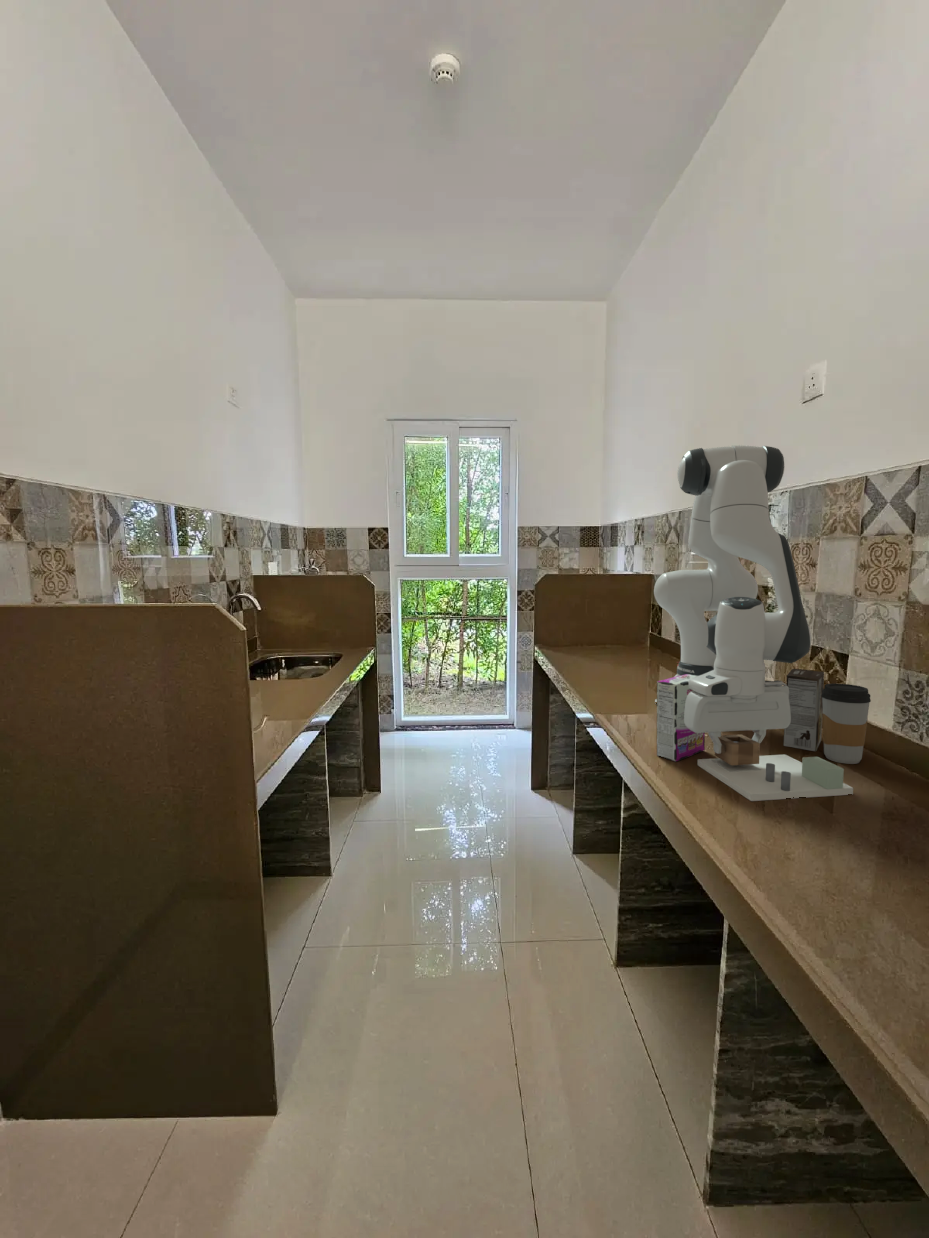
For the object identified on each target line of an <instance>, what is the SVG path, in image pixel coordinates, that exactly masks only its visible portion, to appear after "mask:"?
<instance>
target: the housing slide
mask: <svg viewBox="0 0 929 1238" xmlns="http://www.w3.org/2000/svg"><path fill="white" fill-rule="evenodd" d="M801 761H802V776H803V777H804V778H806V779H808V780H810V781H812V782H814V783H816V784H818V785H820V786H822V787H824V788H826V789H838V788H843V783H844V773H845V768H843V767H842V766H839V765H838V764H837V765H836V764H834V763H833V762H831V761H828V760H825V759H823V758H821V757H819V756H808V757H802V760H801Z"/></svg>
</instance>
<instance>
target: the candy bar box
mask: <svg viewBox="0 0 929 1238" xmlns="http://www.w3.org/2000/svg"><path fill="white" fill-rule="evenodd" d="M694 677H697V676H696V675H691V674H685V675H681V676H677V677H674V676H673V677H669V678H665V679H661V680H657V681H656V699H657V704H656V756H657V757H659V756H661V757H664V758H663V759H665V758H666V760H667V761H669V760H670V761H672V762H679V761H681V760H684V759H686V758H689V757H692V756H694V755H696V754H698V753H701V752H703V751H705V747H706V746H705V743H706V734H705V733H706V732H705V733H695V732H693V731H691V730H690V729H688V728H687V727H686V725H685V724H684V711H685V703H686V698H687V696H688V694H689V693H690V692H691V691H693V690H691V689H690V688H689V680H690V679H692V678H694ZM661 757H660V758H661Z"/></svg>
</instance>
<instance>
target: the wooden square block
mask: <svg viewBox="0 0 929 1238" xmlns="http://www.w3.org/2000/svg"><path fill="white" fill-rule="evenodd" d="M718 738H719V740H720V742H721V743H723V744H725V745H726V749H725V750H726V752H725V753H721V754H717V753H715V752H714V756H715V758H720V759H722V760H723V761H725V762H727V763H728V764H730V765H748V764H759V756H760V749H761V743H758V742H756V741H754V740H752V738H750V737H747V736H746V735H743V734H742V733H741V734H727V735H722V734H721V737H718ZM733 741H736V742H733Z"/></svg>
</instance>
